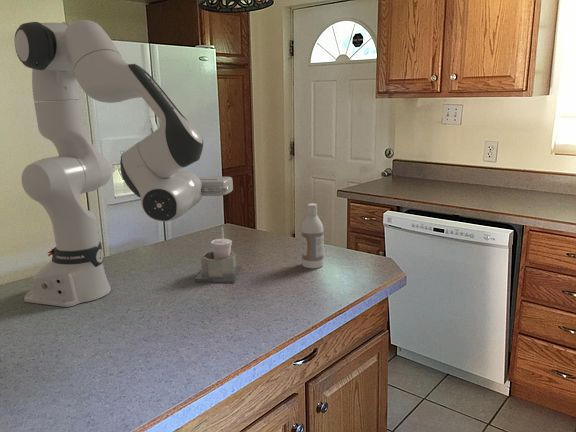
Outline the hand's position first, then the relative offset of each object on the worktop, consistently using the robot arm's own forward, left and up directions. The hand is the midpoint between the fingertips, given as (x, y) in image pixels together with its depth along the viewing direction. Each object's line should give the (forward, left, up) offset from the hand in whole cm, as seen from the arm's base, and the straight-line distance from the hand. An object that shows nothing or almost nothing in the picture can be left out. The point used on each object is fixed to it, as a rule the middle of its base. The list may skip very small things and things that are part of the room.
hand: (199, 180), depth 129 cm
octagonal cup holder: (0, +15, -32) cm, 35 cm away
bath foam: (+28, +25, -32) cm, 50 cm away
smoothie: (+1, +15, -31) cm, 35 cm away
